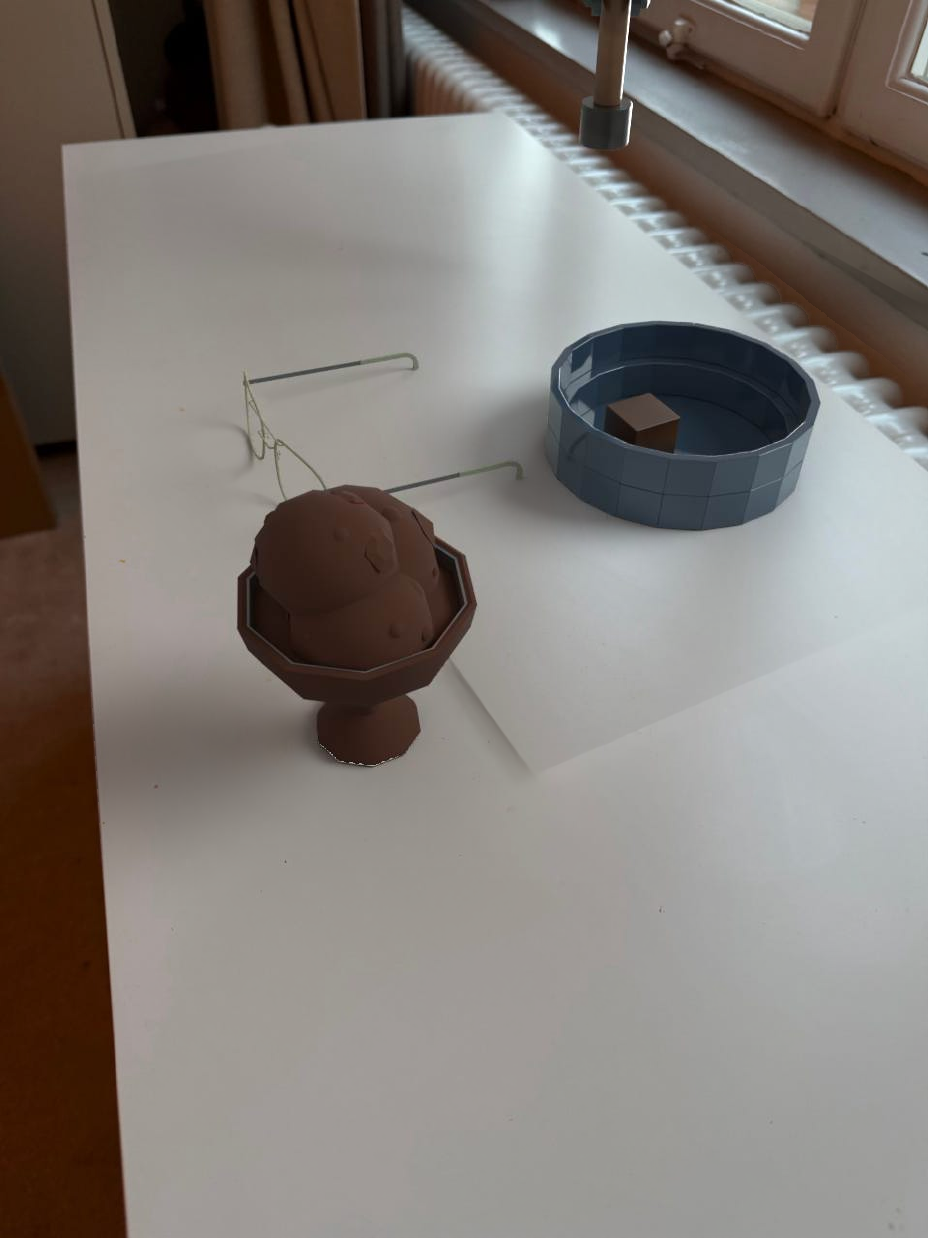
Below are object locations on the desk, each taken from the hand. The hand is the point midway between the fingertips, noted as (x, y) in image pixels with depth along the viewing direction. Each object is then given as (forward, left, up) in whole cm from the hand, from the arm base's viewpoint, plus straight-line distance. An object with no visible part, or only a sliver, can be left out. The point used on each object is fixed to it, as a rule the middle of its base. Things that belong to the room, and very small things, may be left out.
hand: (616, 8), depth 73 cm
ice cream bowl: (+27, +45, -22) cm, 57 cm away
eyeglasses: (+23, +21, -22) cm, 38 cm away
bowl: (+3, +26, -22) cm, 34 cm away
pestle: (-1, -2, -10) cm, 10 cm away
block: (+5, +26, -21) cm, 34 cm away
